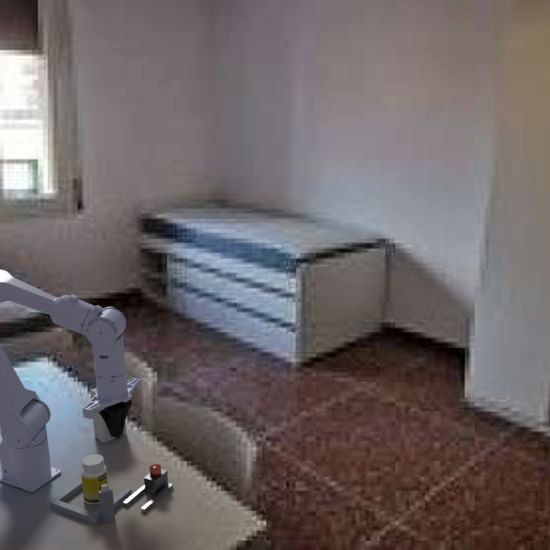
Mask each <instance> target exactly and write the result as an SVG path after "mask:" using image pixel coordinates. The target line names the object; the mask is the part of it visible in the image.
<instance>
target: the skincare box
mask: <svg viewBox="0 0 550 550" xmlns="http://www.w3.org/2000/svg"><path fill="white" fill-rule="evenodd" d="M89 393H90V401H91V400H92V398H93V397H94V396H95V395H96V394H97V387H95V388H92V389H90V390H89ZM92 421H93V422H92V423H93V432H94V437H95V438H96V439H97V440H98V439H99V440H98V441H100V442H101V443H103V444H105V443H107V442H110V441H113V440H115V439H116V438H115V437H111V436H110V433H109V431H108V428H107V426H106V424H105V422H104V420H103V418H102V417H101V415H100V414H99V413H97V414H95V417H94V418H93V419H92ZM126 423H127V422H126V421H125V425H124V431H123V435H122V436H125V435H127V424H126ZM122 436H121V437H122Z"/></svg>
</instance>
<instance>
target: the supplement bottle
mask: <svg viewBox="0 0 550 550" xmlns="http://www.w3.org/2000/svg"><path fill="white" fill-rule="evenodd" d="M81 463H82V466H81V467H82V470H81V473H80V474H81V475H80V476H81V478H82V486H83V488H82V496H83V501H84V503H86V504H87V505H91V506H93V505H99V496H98V492H99V491H100V490H101V485H103V484H108V485H109V482H108V481H109V480H108V470H107V466H106V465H105V458H104V456H103V455H101V454H98V453H97V454H95V453H94V454H90V455H87V456H85V457H84V458H83V459H82V462H81Z"/></svg>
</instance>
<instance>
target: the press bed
mask: <svg viewBox="0 0 550 550" xmlns="http://www.w3.org/2000/svg"><path fill="white" fill-rule="evenodd" d="M81 490H83V486H82V477H81V478H80V479H78V480H77V481H76V482H74V483H73V484H72V485H71V486H69V487H67V488H66V489H64V490H63V491H62V492H61V493H59V494H58V495H56V496H55V497H54V498H52V499H51V500H50V501H48V503H49V508H50V509H53V510H55V511H59V512H61V513H63V514H66V515H67V514H68V515H69V516H72V517H75V518H77V519H79V520H82V521H85V522H88V523H91V524H94V525H97V524H98V523H100V522H103V523H106V524H110V523H111V522H112V521H113V520H115V518H116V513H115V509H117V508H118V507H120V505H122V504H123V502H124V501H125V500H126V499H128V498H129V497H130V496H131V495H132V494H133V490H132V489H131V488H129V487H126V488H124V489H123V490H122V491H121V492H119V493H118V494H117V495H116V496H115V497H114V490H113V489H112V488H110V485H109V483H108V484H103V485H101V490H100V491H99V492H98V496H99V504H98V505H99V509H98V511H96V512H92V511H90V510H87V509H84V508H81V507H78V506H76V505H73V504H70V503H67V502H66V501H67V500H69V499H70V498H71V497H73V496H75V494H77V493H78V492H80V491H81Z"/></svg>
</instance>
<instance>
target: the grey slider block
mask: <svg viewBox="0 0 550 550" xmlns="http://www.w3.org/2000/svg"><path fill="white" fill-rule="evenodd" d="M148 469H149V473H148V474H146V476H144V477H143V481H144V483H143V485H145V492H144V494H146V495H148V496H152V497H154V496H156V495H157V494H158V493H159V492H160V491H161V490H162V489H164V488H165V487H166V486H167V485H168V484H169V480H168V479H169V478H168V477H169V476H168V470H166V469H162V465H161V464H159V463H153V464H151V465H150V466H149V468H148Z"/></svg>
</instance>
